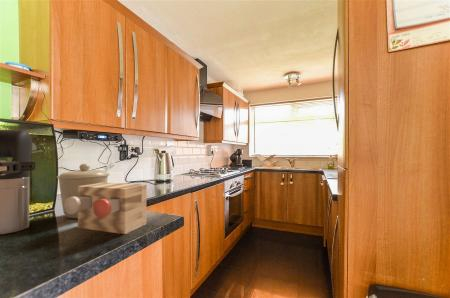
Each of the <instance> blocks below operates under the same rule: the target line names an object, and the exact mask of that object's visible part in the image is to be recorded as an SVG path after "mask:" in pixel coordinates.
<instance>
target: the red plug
mask: <svg viewBox="0 0 450 298" xmlns="http://www.w3.org/2000/svg"><path fill="white" fill-rule="evenodd" d="M119 210H120V198H110V199H100V200H97V201H95V203H94V205H93V211H94V214H95V215H96V216H97V217H99V218H102V217H105V216H107V215H109V214H110V213H113V212H116V211H119Z"/></svg>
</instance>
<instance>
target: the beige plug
mask: <svg viewBox="0 0 450 298" xmlns="http://www.w3.org/2000/svg"><path fill="white" fill-rule="evenodd" d="M91 206H92V196H81V197H75V196H74V197H69V198H67V199H66V200H65V202H64V209H65V211H66V212H67V213H68V214H74V213H77V212H79V211H80V210H84V209H88V208H91Z"/></svg>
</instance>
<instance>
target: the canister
mask: <svg viewBox="0 0 450 298" xmlns="http://www.w3.org/2000/svg"><path fill="white" fill-rule="evenodd" d="M90 167H91V166H90V164H88V163H81V164H80V165H79V170H73V171H71V170H70V171H65V172H62V173H61V174H59V175H56V179H57V180H58V182H59V183H58V184H59V192H60V198H61V205H62V211H63V214H64V216H65V217H66V218H69V219H78V212H77V213H74V214H68V213H67V212H66V211H65V209H64V202H65V200H66V199H67V198H69V197H74V196H75V197H78V186H84V185H90V184H97V183H108V180H109V179H108V178H109V176H110V175H111V174H110V173H109V172H107V171H105V170H100V169H99V170H97V169H90Z"/></svg>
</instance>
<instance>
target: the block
mask: <svg viewBox="0 0 450 298" xmlns="http://www.w3.org/2000/svg"><path fill="white" fill-rule="evenodd" d="M81 196H92V206H91V208H88V209H84V210H80V211H79V212H78V218H77V228H78V229H84V230H91V231H99V232H107V233H115V234H122V235H126V234H128V233H131V232H133V231H135V230H136V229H139V228H141V227H143V226H145V225H147V184H144V183H127V182H126V183H123V182H121V183H120V182H107V183H97V184H90V185H84V186H78V197H81ZM110 198H120V210H119V211H116V212H113V213H110V214H109V215H107V216H105V217H102V218H99V217H97V216H96V215H95V214H94V211H93V205H94V203H95V201H97V200H100V199H110Z"/></svg>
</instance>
